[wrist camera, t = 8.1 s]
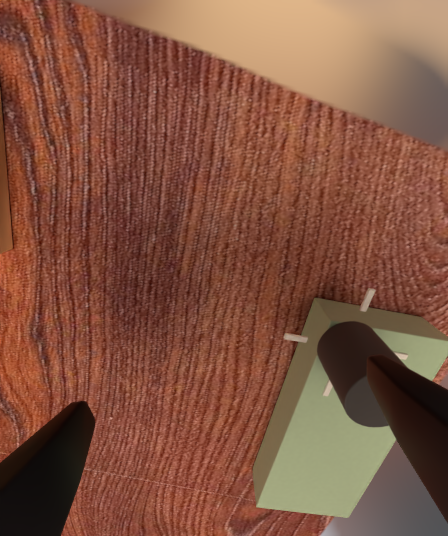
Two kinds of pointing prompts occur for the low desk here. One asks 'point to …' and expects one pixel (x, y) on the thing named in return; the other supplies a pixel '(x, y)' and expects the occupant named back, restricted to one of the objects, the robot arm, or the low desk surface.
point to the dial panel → (333, 415)
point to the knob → (353, 368)
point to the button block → (4, 195)
